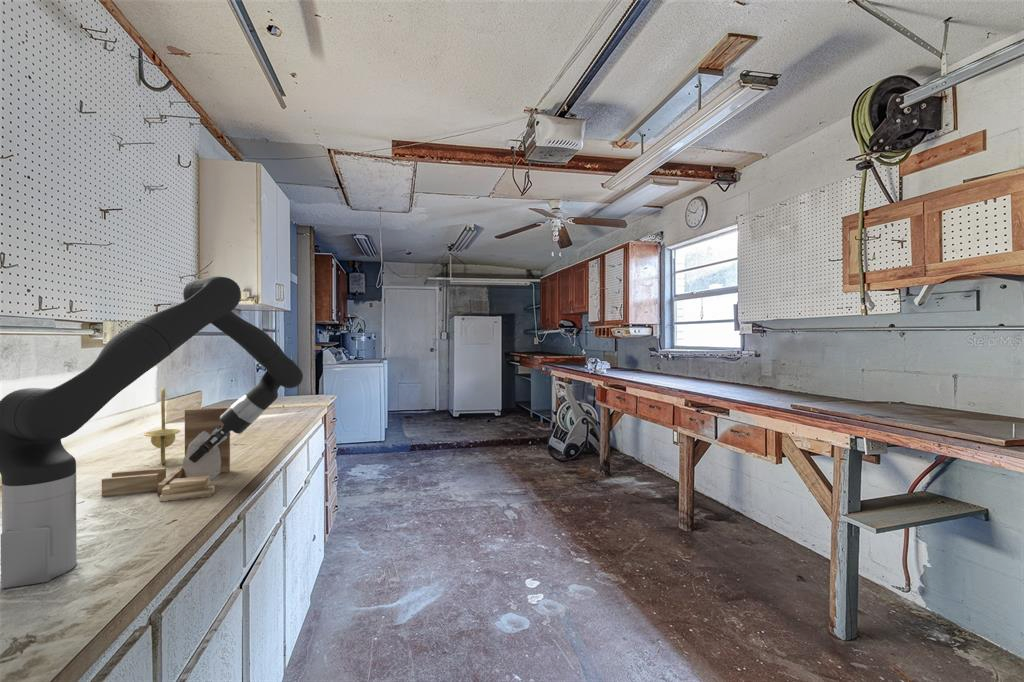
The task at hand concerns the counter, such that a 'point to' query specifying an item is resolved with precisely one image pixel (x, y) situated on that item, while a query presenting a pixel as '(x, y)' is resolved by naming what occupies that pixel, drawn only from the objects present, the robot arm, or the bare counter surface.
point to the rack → (193, 427)
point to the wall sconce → (162, 432)
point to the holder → (133, 481)
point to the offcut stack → (187, 488)
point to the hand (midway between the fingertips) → (193, 459)
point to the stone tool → (202, 459)
